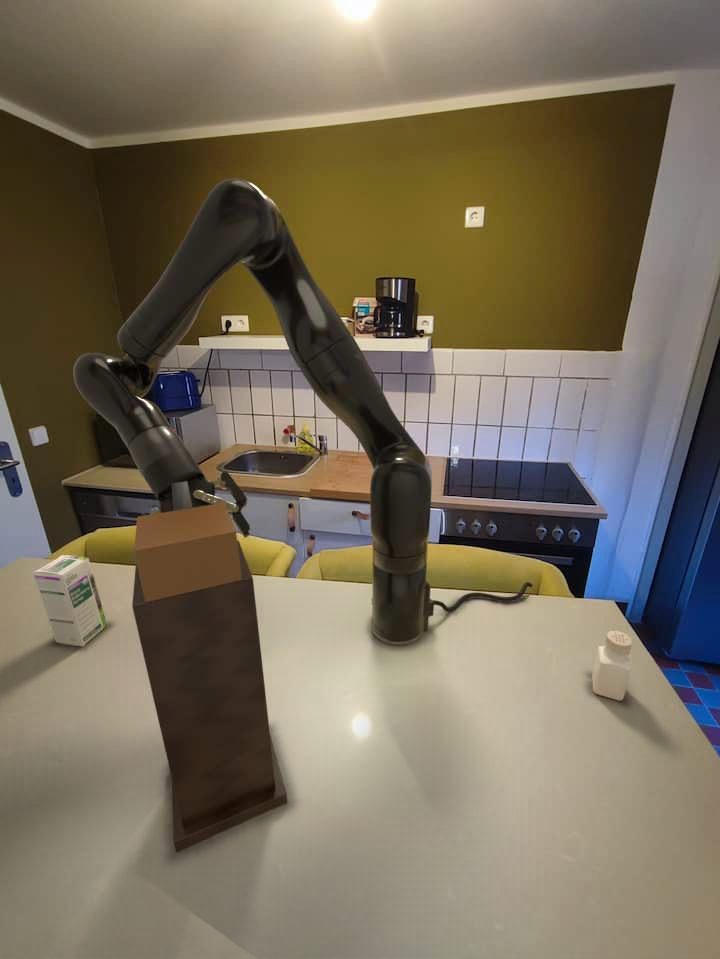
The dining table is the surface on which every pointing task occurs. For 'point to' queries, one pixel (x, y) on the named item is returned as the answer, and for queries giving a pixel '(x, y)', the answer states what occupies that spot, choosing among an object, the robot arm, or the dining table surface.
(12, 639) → the dining table surface
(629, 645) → the pepper shaker
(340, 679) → the dining table surface
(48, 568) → the syrup box
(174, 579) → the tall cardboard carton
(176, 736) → the brown wooden tall block
